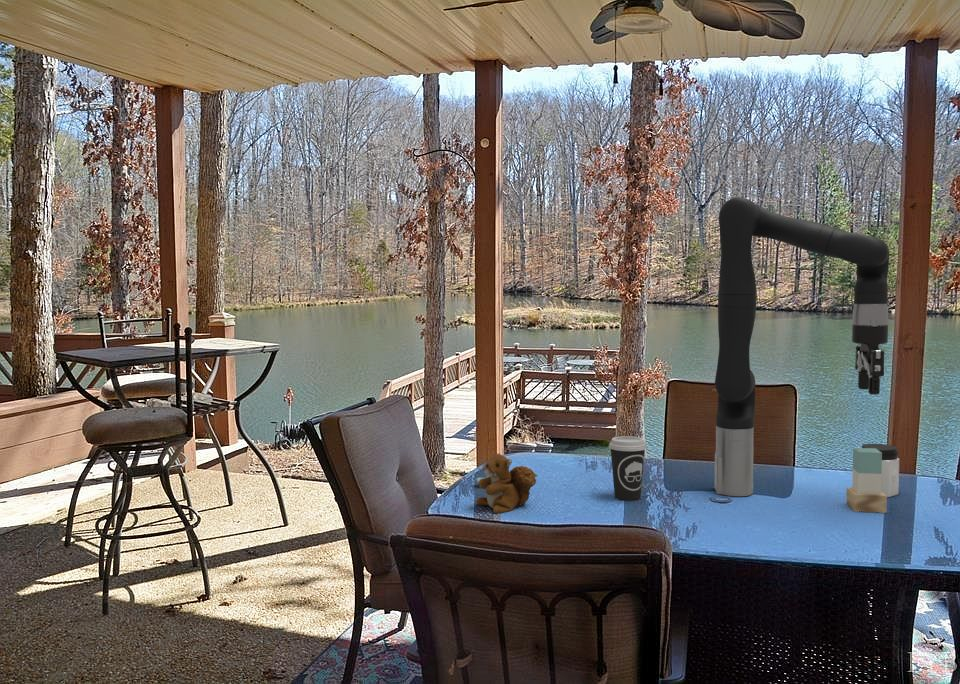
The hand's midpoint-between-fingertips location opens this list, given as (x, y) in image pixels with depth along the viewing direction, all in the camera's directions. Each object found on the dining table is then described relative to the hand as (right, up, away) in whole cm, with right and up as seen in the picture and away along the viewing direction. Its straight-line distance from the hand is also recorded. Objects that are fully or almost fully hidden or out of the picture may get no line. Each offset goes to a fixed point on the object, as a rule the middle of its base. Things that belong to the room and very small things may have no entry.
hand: (868, 391), depth 182 cm
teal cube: (0, -19, +1) cm, 19 cm away
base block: (0, -28, +2) cm, 28 cm away
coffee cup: (-54, -28, +14) cm, 63 cm away
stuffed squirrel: (-85, -29, +8) cm, 90 cm away
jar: (+10, -27, +15) cm, 33 cm away
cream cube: (0, -24, +2) cm, 24 cm away
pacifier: (-89, -28, +27) cm, 97 cm away
